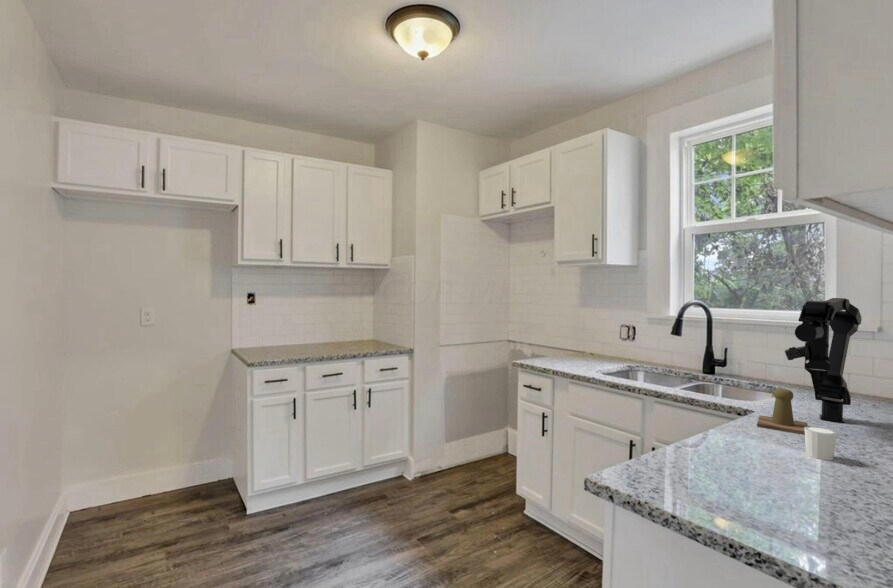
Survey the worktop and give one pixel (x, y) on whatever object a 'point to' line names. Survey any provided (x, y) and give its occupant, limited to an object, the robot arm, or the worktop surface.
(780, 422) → the cork
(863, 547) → the worktop surface
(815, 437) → the white faceted cup
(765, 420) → the walnut coaster board
